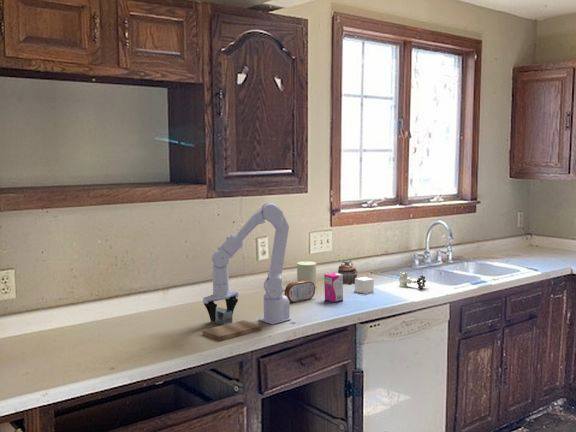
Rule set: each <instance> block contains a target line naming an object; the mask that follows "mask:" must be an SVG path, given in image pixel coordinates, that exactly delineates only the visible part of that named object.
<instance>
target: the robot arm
mask: <svg viewBox="0 0 576 432" xmlns="http://www.w3.org/2000/svg"><path fill="white" fill-rule="evenodd" d="M266 221H267V222H268V223H269V224H271V225H272V227H273V228H274V229H275V230H274V232H275V233H274V238H273V244H272V245H273V246H272V251H271V257H270V264H269V270H268V272H267V276H266V279H265V280H264V282H263V288H264V291H265V294H264V295H263V317H261V318H259V319H258V320H259V321H261V322H263V323H268V324H271V325H274V324H279V323H282V322H287V321H290V320H292V318H291V317H290V301H289V300H288V298H287V297H286V296H285V294H284V295H283V291H284V288H283V285H282V283H283V269H284V267H283V266H284V261H285V255H286V247H287V243H288V236H289V228H290V226H289V223H288V221H287V219H286V216H285V215H284V212H283V210H281V209H280V208H279V207H278V205H276V204H275V203H273V202H269V201H268V202H266V203H263V204H262V206H261V207H260V208H259V209H257V210H256V211H255V212H254V213H253V214H252V215H251V216H250V217H249V218H248V220H247V221H246V222H245V224H244V225H243V226H241V229H240V230H239V231H238V232H236V234H231V235H227V237H226V238H225V241H224V242H223V243H222V245H221V246H218V247H217V250H216V251H214V253H213V254H212V257H211V260H212V263H213V265H212V294H209V295H208V296H204V297H203V298H202V303H203V305H204V306H205V308H206V311H207V313H208V316H209V320H210V322H211V321H213V322H215V319H216V308H217V307H218V304H217V303H215V302H219V301H222V300H223V301H225V304H226V305H225V306H226V309H227V310H230V311H232V316H233V315H234V310H235V307H236V305H237V303H238V301H239V299H238V298H239V292H238V291H235V290H234V291H230V290H229V287H230V285H229V284H230V283H229V269H228V264H229V261H230V259H231V258H233V257H234V256H235V254H236V253H238V251H239V250H240V249H241V248H242V247H243V246H244V242H243V241H244V239H245V238H246V237H247V236H248V235H249V234H250V233H252V231H253V230H254V229H255V228H256V227H257V226H258V225H262V224H265V223H266ZM213 322H212V323H213Z"/></svg>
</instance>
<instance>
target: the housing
mask: <svg viewBox="0 0 576 432" xmlns="http://www.w3.org/2000/svg"><path fill="white" fill-rule="evenodd" d="M210 323H213V324H216V325H218V326H222V325H226V324H230V323H233V315H232V311H230V310H227V308H223V307H220V306H217V307H216V319H215V322H213V321H211V320H210Z"/></svg>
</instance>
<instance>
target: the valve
mask: <svg viewBox="0 0 576 432" xmlns="http://www.w3.org/2000/svg"><path fill="white" fill-rule="evenodd" d="M398 282H399V287H401V288H408V284H409V285H411V283H412V284H416V285H418V286H417V288H418V289H420V290H423V289H424V288H425V287H426V284H425V283H427V280H426V276H425V275H422V274H420V277H418V278H417V279H415V278H412V277H410V276H408V272H406V271H400V272H399V277H398Z"/></svg>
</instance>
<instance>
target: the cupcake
mask: <svg viewBox="0 0 576 432" xmlns="http://www.w3.org/2000/svg"><path fill="white" fill-rule="evenodd" d="M337 269H338V270H337V273H338V274H342V275H343V284H355V278H358V273H359V271H358V270H357V268H356V266H354V262H353V261H351V260H350V261H344V260H343V261H342V262H341V263H340V265H339V266H338V268H337Z"/></svg>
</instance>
